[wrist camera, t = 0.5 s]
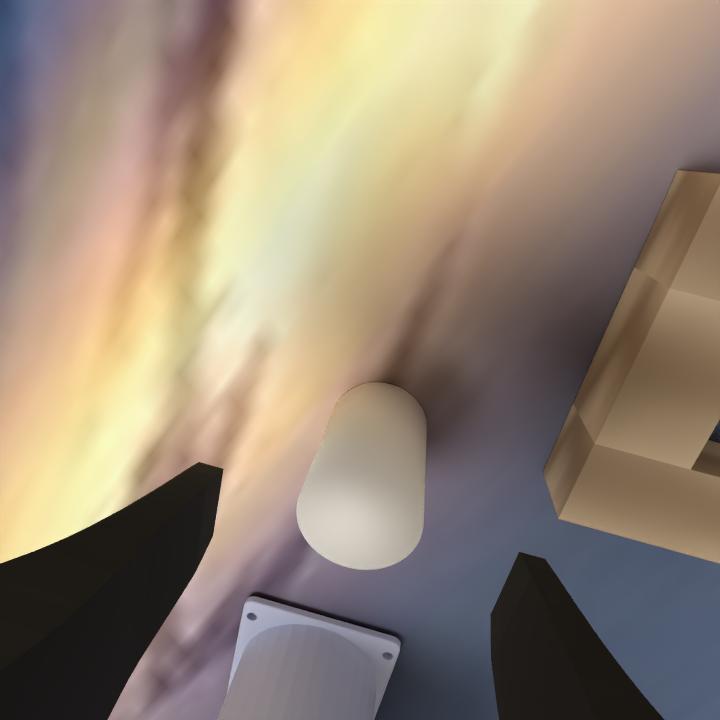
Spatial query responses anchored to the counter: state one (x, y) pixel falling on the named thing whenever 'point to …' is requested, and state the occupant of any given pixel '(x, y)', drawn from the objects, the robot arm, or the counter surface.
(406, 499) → the peg
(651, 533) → the socket block
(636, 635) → the counter surface
